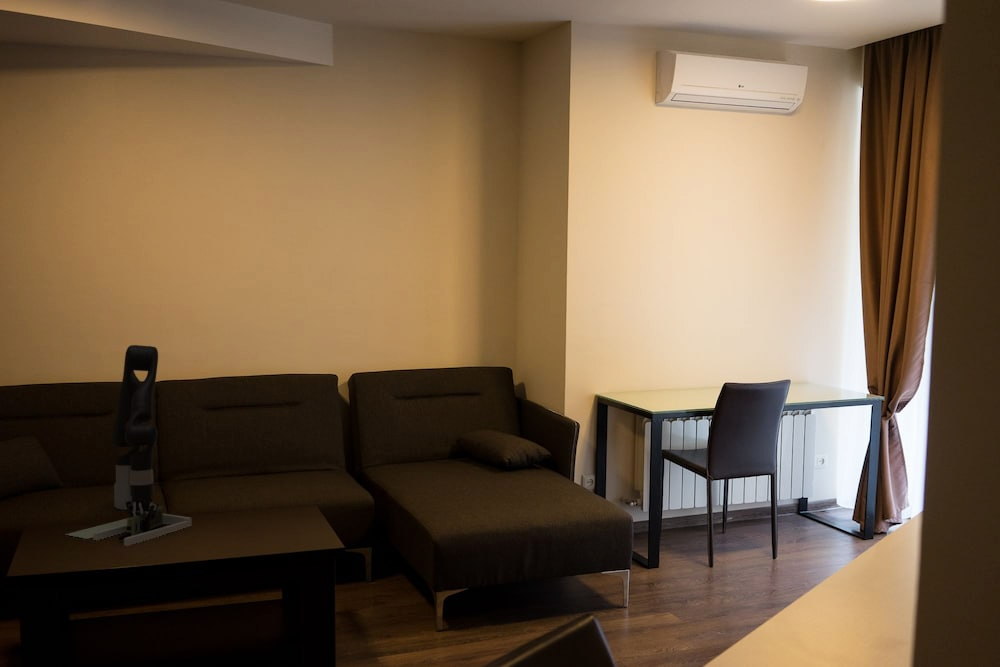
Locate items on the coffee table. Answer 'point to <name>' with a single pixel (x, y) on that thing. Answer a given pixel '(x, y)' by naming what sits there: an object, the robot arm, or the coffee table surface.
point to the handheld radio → (137, 523)
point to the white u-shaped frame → (174, 520)
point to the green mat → (97, 529)
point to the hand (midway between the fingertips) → (142, 531)
